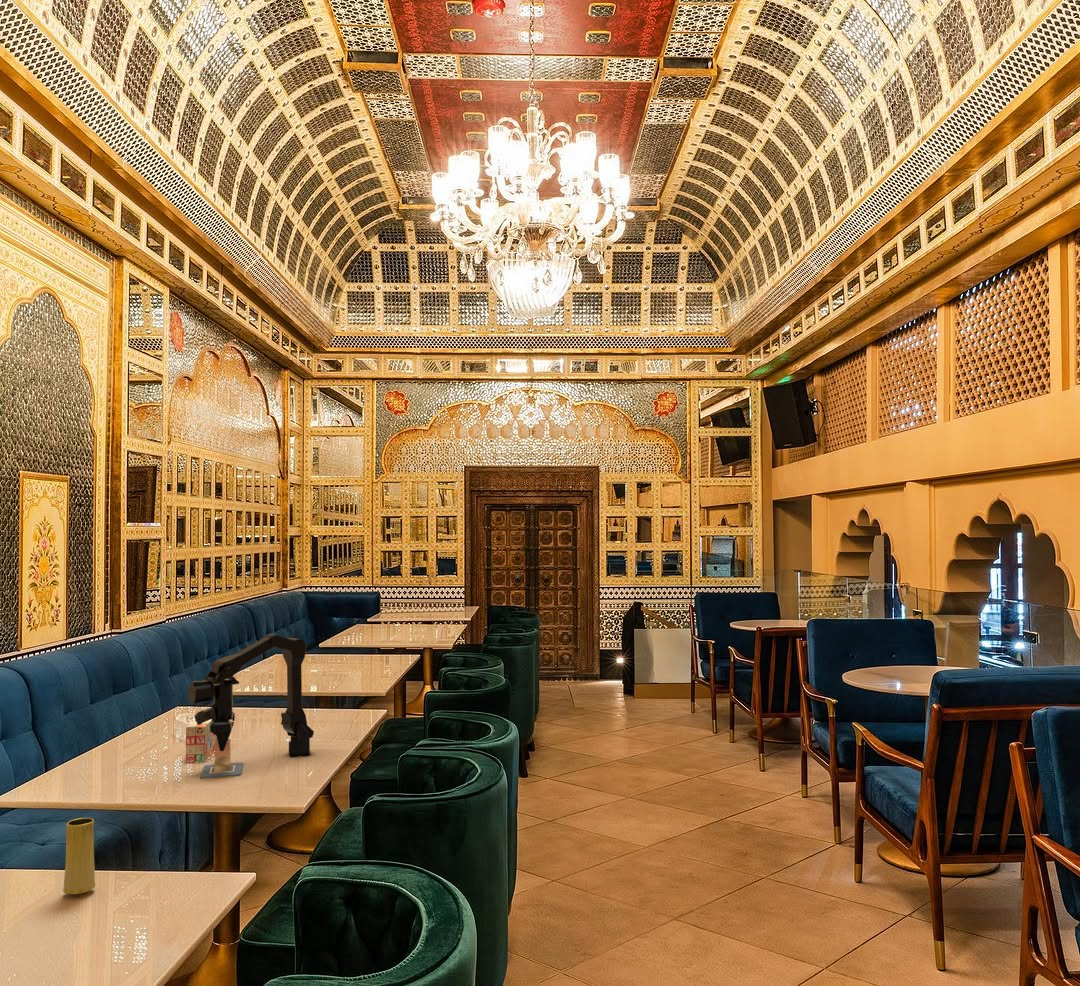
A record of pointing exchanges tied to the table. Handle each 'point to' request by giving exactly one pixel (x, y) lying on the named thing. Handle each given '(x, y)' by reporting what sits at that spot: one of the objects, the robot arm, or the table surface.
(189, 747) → the stack of blocks
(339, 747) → the table surface
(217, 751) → the terracotta block
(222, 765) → the maple block
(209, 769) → the board
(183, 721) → the white piece
